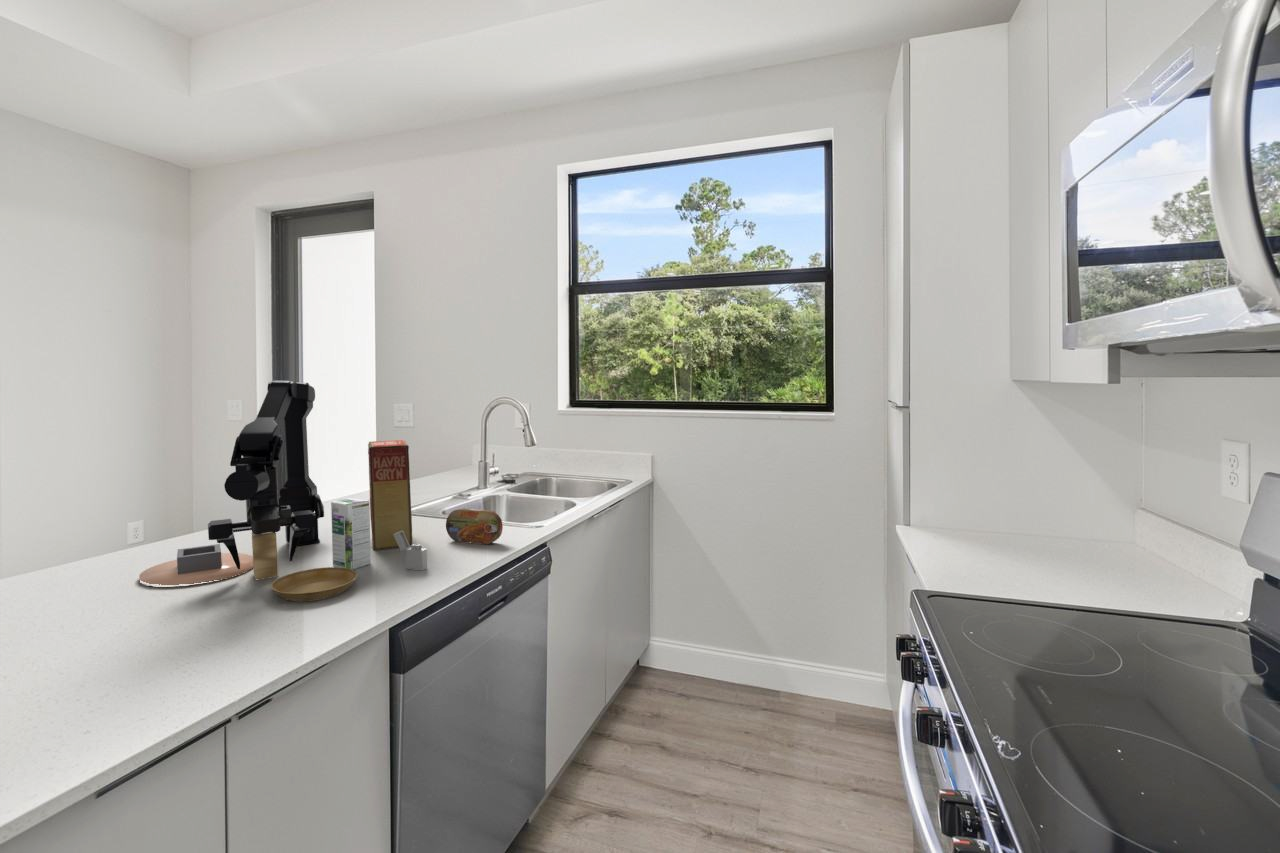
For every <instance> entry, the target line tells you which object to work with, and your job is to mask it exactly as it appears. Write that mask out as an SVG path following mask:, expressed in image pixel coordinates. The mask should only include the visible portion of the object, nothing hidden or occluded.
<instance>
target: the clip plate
mask: <svg viewBox="0 0 1280 853" xmlns="http://www.w3.org/2000/svg"><path fill="white" fill-rule="evenodd" d="M238 556H239V560H240V569H238V568H237V566H236V564H235V562H234V560H233V557H232V555H231V553H230V552H222V549H221V543H217V544H209V545H200V546H194V547H186V548H185V547H184V548H178V549H177V554H176V559H173V560H170V561H167V562H166V561H165V562H163V563H159V564H155V565H153V566H150V567H149V568H146V569H145V570H143V571H142V572H140V574H139V576H138V579H140V580H141V581H143V582H146V583H149V584H159V585H160V584H161V585H179V584H194V583H201V582H209V581H214V580H221V579H225V578H229V577H232V576H235V575H238V574H241V575H243V574H245V573H244V572H246V571H248V570H250V569H251V570H252V568H253V554H252V555H251V554H247V553H240V552H238ZM251 570H250V571H251ZM248 572H249V571H248ZM242 573H243V574H242ZM246 573H247V572H246ZM238 576H239V575H238ZM235 577H236V576H235ZM232 578H233V577H232ZM229 579H230V578H229ZM140 580H139V581H140ZM225 580H226V579H225ZM221 581H222V580H221Z"/></svg>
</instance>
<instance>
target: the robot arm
mask: <svg viewBox="0 0 1280 853" xmlns="http://www.w3.org/2000/svg"><path fill="white" fill-rule="evenodd" d="M315 399H316V390H315V387H314V386H311V385H310V384H309V382H295V381H291V380H272V381H269V382H268V384H267V393H266V395H265V397H264V399H263V402H262V404H261V405H260V407H259V408H260V409H259V410H258V413H257V415H256V417H255V419H254V420H253V421H251V422H250V423H247V424H246V425H245V426H244V427H243V428H242V430H241V432H240V433H239V434H238V436H237V437H236V439H235V442H234V447H233V452H232V454H231V458H230V463H229V465H230V466H231V467H235V471H234V472H232V473H230V474H229V475H228V476H227V477H226V479H225V482H224V484H223V486H224V490H225V493H226V494H227V495H228V497H229V498H231V499H234V500H236V501H240V502H241V501H245V507H246V508H245V509H246V512H245V513H246V521H240V522H239V521H238V522H237V521H236V522H233V521H232V519H231V518H226V519H217V520H210V521H209V523H208V524H207V532H208V533H207V535H208V541H216V543H217V544H222V543H223V544H224V546H225V547H226V548H227V549H228V551H229V553H231V555H232V557H233V560H234V562H235V564H236V566H237V568H238V569H240V560H239V556H238V553H239V552H238V548H237V543H236V539H235V533H237V532H238V533H239V532H245V531H246V532H247V531H251V534H252V533H253V534H256V535H258V534H262V533H267V532H273V533H274V532H275V533H278V532H280V531H281V527H284V528H285V541H286V543H287V544H289V546H288V560H289V562H292V561H293V560H294V557H295V553H296V550H297V547H298V546H305V545H310V544H318V543H320V542H321V540H320V538H319V519H321V518H324V517H325V507H324V504H323V502H322V500H321V496H320V495H319V494H318V487H317V485H316V483H314V482H313V480H312V479H311V477H310V474H309V473H310V470H309V450H308V429H307V418H308V416H309V415H310V413H311V412H312V410H313V408H314V402H315ZM283 423H284V437H285V438H284V439H285V441H284V440H283V437H282V434H281V431H280V430H281V427H282V425H283ZM284 447H285V448H284ZM284 449H285V456H286V457H285V459H286V477H287V480H286V481H285V483H284V484H283V486H282V487H281V488H280V490H279V486H278V485H279V484H278V482H279V481H278V465H279V464H278V463H279V461H281V458H282V454H283V450H284Z"/></svg>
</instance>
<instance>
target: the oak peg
mask: <svg viewBox="0 0 1280 853" xmlns="http://www.w3.org/2000/svg"><path fill="white" fill-rule="evenodd" d="M251 541H252V542H251V544H252V545H251V546H252V556H253V577H254V580H255V579H259V580H263V579H262V578H265V579H270V578H269V577H272V578H277V577H276V576H278V577H279V569H278V568H279V567H278V566H279V565H278V546H277V545H278V544H277V532H274V533H273V532H267V533H262V534H258V535H256V534H253V533H252V532H251Z"/></svg>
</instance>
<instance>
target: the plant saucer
mask: <svg viewBox="0 0 1280 853" xmlns="http://www.w3.org/2000/svg"><path fill="white" fill-rule="evenodd" d="M357 577H358V573H357V571H355V569H353V570H351V569H347V568H339V567H333V566H332V567H331V566H328V567H318V568H309V569H306V570H305V569H304V570H300V571H296V572H292V573H289V574H286V575H283V576H281V577H279V578H277V579H275V580H273V581H272V583H271V584H270V588H271V590H272V591H273V592H275V594H276V595H278V596H279V597H281V598H283V599H285V600H287V601H289V600H290V602H298V601H303V602H312V601H320V600H321V601H322V600H324V599H329V598H332V597H335V596H338V595H340V594H341V593H343V592H345V591H346V590H347V589H349V588H350V586H351V585H352V584H353V583H354V582H355V580H356V579H357Z"/></svg>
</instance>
